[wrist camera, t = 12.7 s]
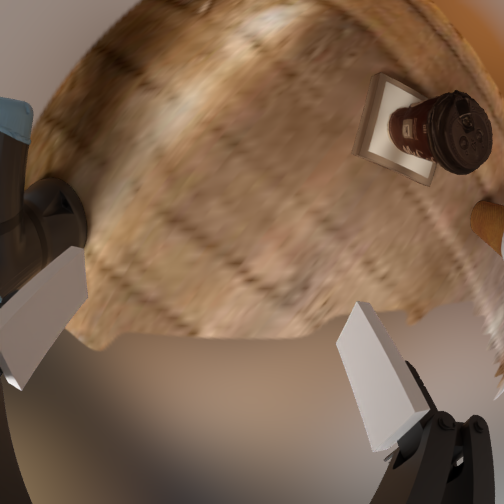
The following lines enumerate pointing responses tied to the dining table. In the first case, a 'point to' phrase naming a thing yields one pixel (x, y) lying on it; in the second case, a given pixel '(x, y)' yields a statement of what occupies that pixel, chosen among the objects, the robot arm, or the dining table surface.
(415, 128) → the coffee cup
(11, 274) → the robot arm
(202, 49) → the dining table surface
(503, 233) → the disposable coffee cup
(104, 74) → the dining table surface
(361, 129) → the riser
